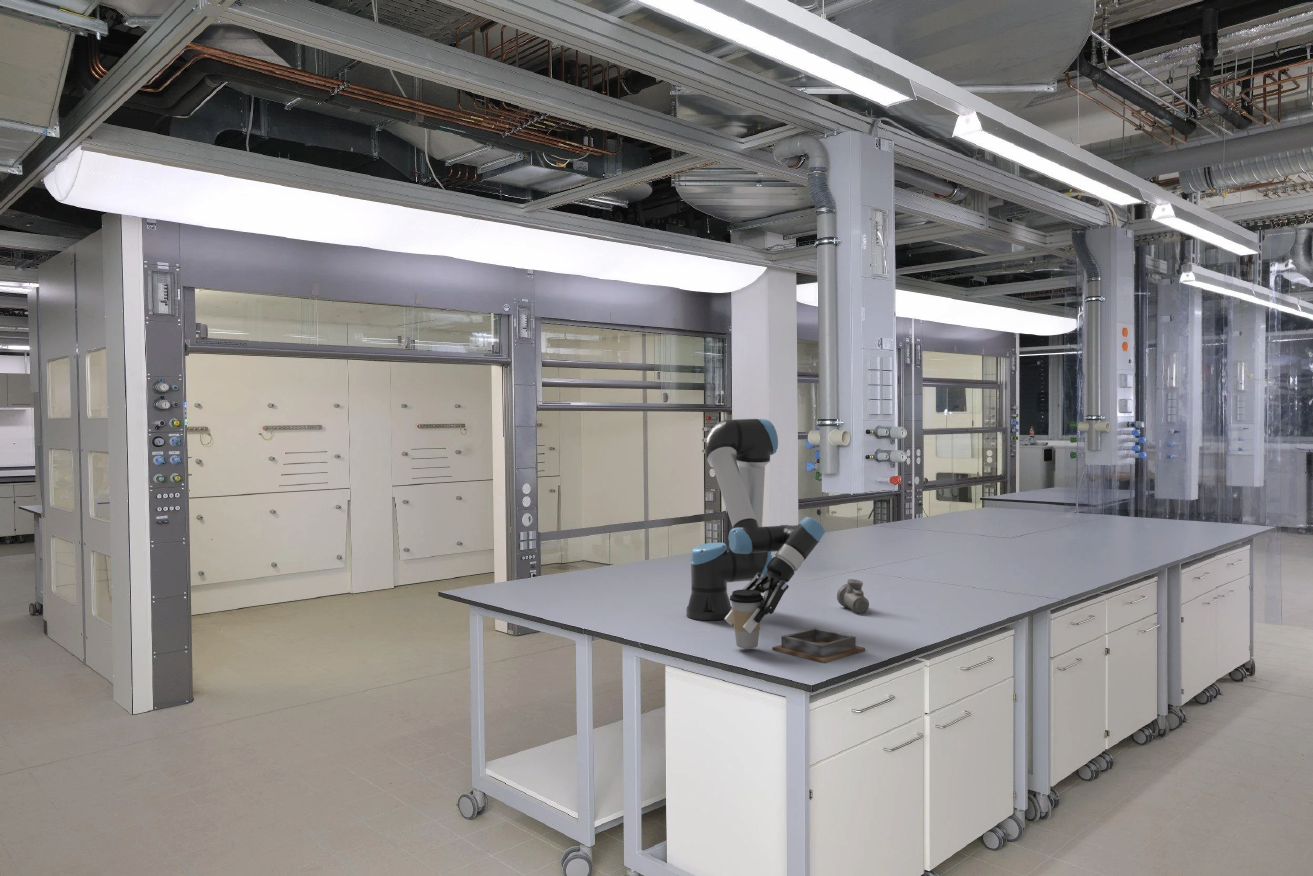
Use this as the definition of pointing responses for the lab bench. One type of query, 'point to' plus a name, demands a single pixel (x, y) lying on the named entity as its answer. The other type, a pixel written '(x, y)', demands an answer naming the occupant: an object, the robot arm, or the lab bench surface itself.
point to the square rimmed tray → (818, 645)
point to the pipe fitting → (853, 596)
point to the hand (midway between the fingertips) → (737, 626)
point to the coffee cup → (745, 616)
